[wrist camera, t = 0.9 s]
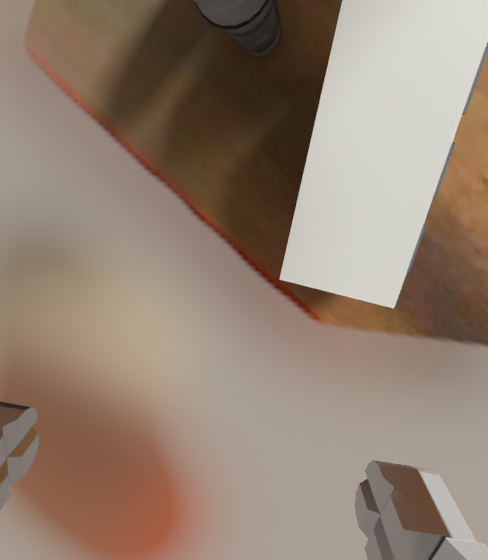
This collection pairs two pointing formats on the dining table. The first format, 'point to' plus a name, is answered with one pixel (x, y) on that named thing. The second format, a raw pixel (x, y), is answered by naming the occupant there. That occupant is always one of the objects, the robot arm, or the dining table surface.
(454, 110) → the key panel
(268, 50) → the beverage cup
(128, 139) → the dining table surface
